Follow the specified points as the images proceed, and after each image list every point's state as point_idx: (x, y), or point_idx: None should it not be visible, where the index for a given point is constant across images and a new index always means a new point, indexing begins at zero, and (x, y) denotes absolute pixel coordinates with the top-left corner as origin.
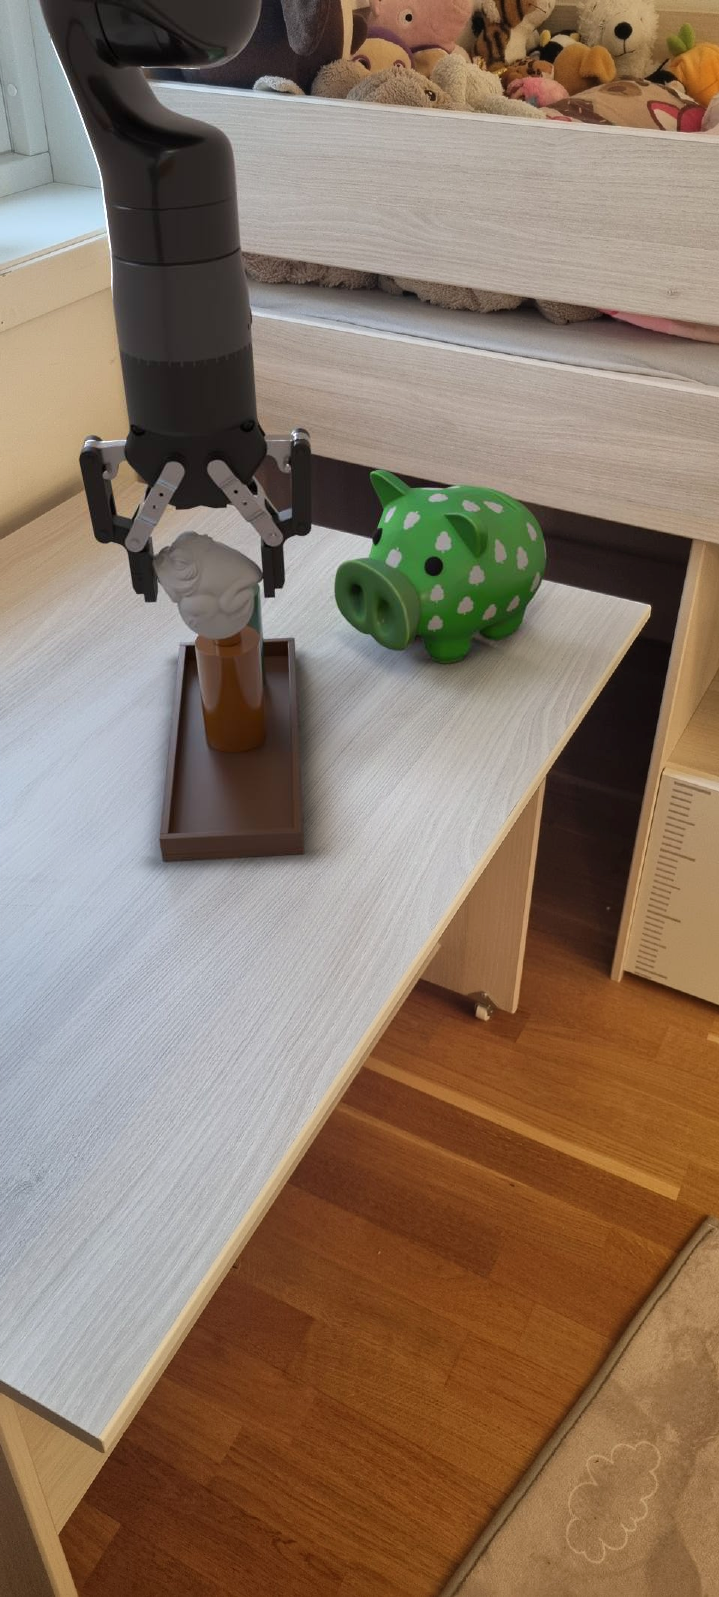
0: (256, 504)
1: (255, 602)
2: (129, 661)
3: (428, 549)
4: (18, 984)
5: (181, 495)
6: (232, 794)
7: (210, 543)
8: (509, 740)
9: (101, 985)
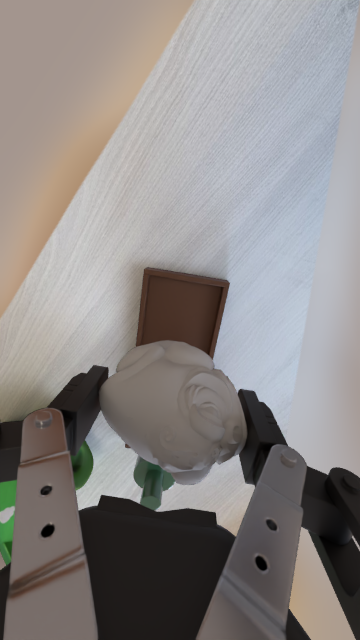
0: (19, 481)
1: (138, 460)
2: None
3: (3, 482)
4: (324, 192)
5: (201, 551)
6: (180, 325)
7: (157, 443)
8: (17, 339)
9: (278, 179)
